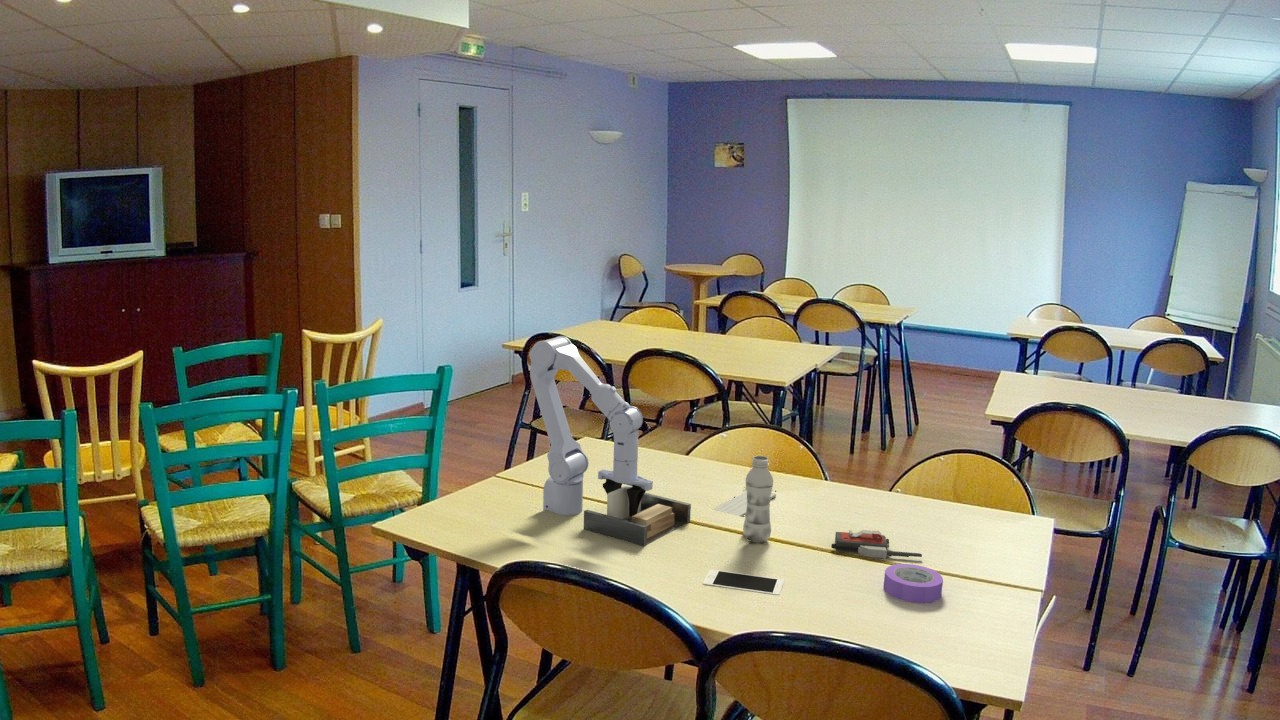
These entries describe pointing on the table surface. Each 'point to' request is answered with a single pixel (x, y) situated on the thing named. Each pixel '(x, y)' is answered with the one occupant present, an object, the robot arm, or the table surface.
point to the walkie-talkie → (866, 544)
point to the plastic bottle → (758, 501)
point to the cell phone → (744, 582)
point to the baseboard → (736, 505)
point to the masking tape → (913, 583)
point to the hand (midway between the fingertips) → (624, 512)
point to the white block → (619, 503)
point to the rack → (636, 531)
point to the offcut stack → (655, 519)
